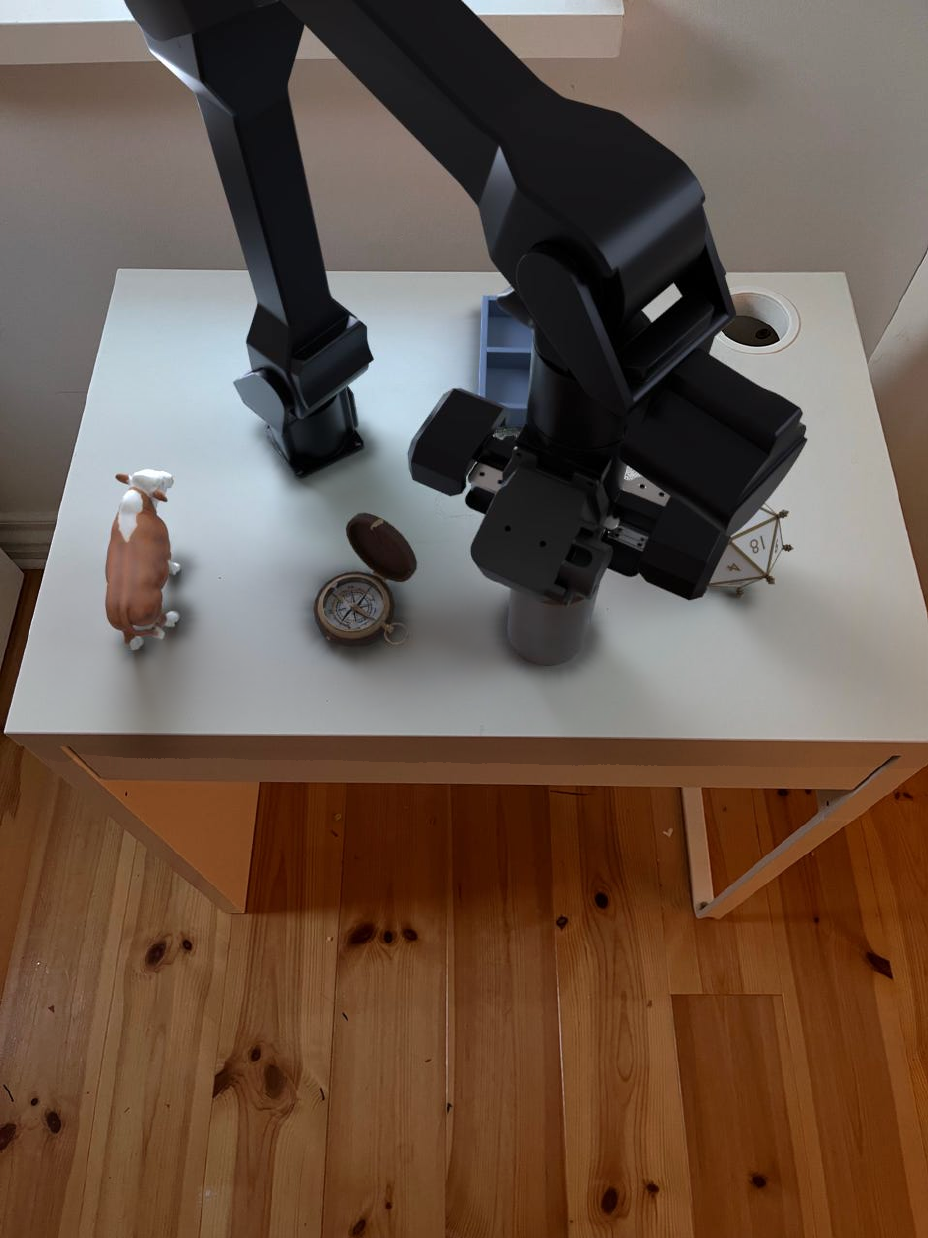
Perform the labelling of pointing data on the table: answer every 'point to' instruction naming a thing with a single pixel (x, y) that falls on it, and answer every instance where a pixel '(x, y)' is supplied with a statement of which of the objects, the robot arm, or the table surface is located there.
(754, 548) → the game die
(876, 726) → the table surface
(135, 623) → the bull figurine
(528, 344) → the grid
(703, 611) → the table surface
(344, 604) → the compass
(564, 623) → the stand
